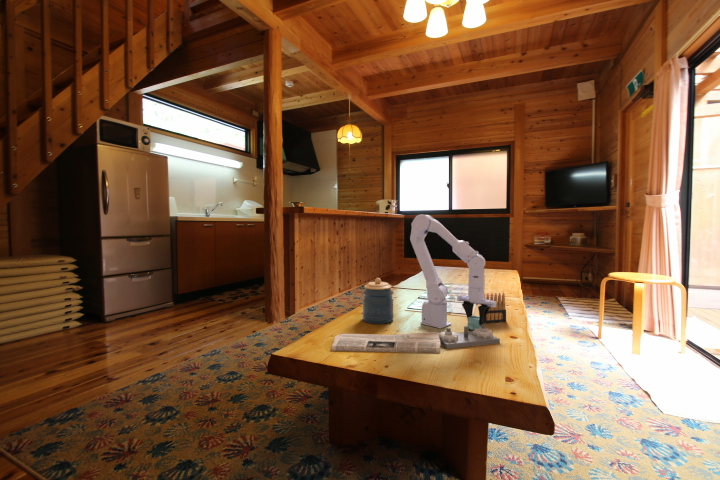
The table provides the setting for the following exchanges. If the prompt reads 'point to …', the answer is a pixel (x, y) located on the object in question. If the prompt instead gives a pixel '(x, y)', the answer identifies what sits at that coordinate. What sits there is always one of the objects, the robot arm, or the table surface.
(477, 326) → the teal gear
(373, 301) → the canister
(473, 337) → the gear board
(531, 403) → the table surface
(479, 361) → the table surface
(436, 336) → the newspaper
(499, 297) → the ammunition clip
